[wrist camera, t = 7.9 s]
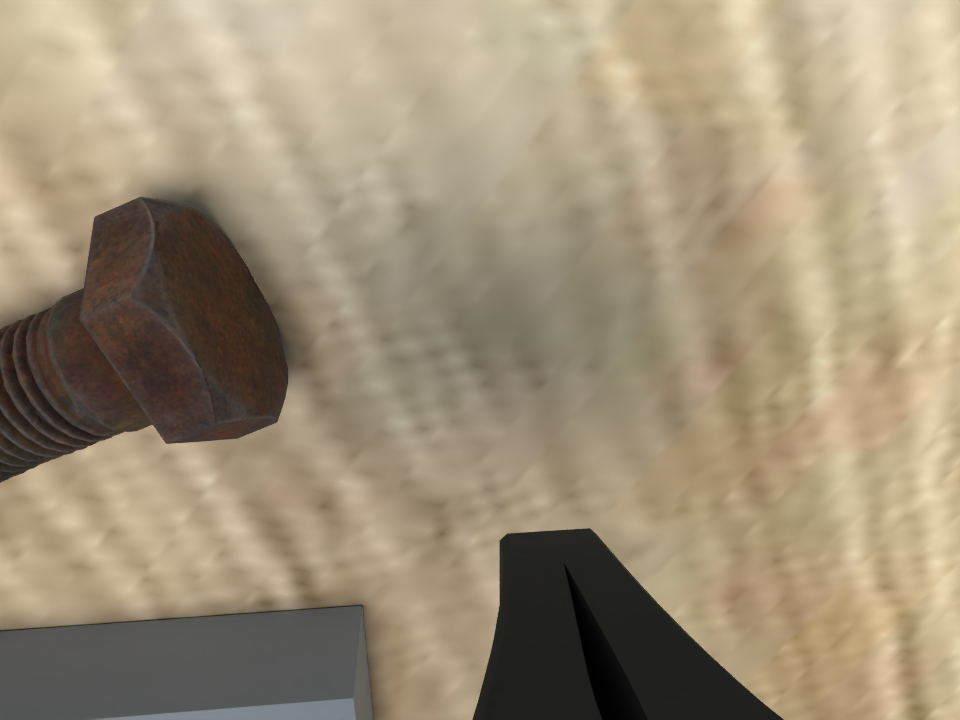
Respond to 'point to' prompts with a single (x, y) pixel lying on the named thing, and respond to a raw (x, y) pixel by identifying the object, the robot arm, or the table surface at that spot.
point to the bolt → (143, 344)
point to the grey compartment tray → (191, 669)
